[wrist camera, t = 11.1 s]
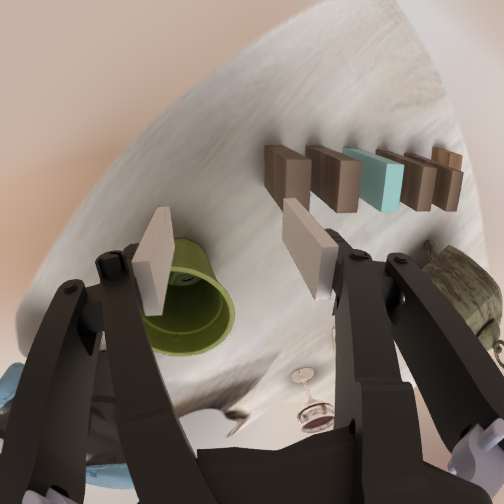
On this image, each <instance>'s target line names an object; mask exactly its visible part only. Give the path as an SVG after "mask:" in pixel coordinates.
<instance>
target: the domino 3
mask: <svg viewBox="0 0 504 504" xmlns="http://www.w3.org/2000/svg"><path fill="white" fill-rule="evenodd" d="M376 155H379V156H381V157H384V158H387V159H390V160H392V161H395V162H398V163H400V164H403V165H404V171H403V179H402V187H401V194H400V202H402V203H404V204H405V205H407V206H409V207H410V208H412V209H413V210H415V211H430V209H431V204H432V198H433V193H434V187H435V180H436V173H437V168H435V167H432V166H429V165H427V164H424V163H421V162H419V161H416V160H413V159H410V158H408V157H405V156H402V155H399V154H396V153H393V152H390V151H382V150H376Z"/></svg>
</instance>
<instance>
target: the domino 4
mask: <svg viewBox="0 0 504 504" xmlns="http://www.w3.org/2000/svg"><path fill="white" fill-rule="evenodd" d="M404 156H405V157H408V158H410V159H413V160H416V161H419V162H421V163H424V164H427V165H429V166H432V167H435V168H437V173H436V180H435V187H434V193H433V198H432V204H434V205H435V206H437V207H439V208H441V209H442V210H444V211H457V206H458V202H459V196H460V191H461V185H462V179H463V173H464V172H461V171H459V170H457V169H454V168H451V167H449V166H446V165H444V164H441V163H438V162H436V161H433V160H430V159H427V158H424V157H421V156H419V155H416V154H408V153H404Z"/></svg>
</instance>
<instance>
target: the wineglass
mask: <svg viewBox="0 0 504 504" xmlns="http://www.w3.org/2000/svg"><path fill="white" fill-rule="evenodd" d="M313 375H314V370H313V369H311V368H302V369H299V370H297V371H295V372H294V373H293V374H292V375H291V378H290V379H291V381H292V382H295V383H301V382H304V385H305V389H306V393H307V396H308V402H307V403H305V404H304V405H303V406H302V408H301V409H300V411H299V413H298V417H297V419H298V422H299V424H300V425H301V426H302V427H301V431H302V432H304V433H315V432H319V431H322V430H325V429H326V428H329V427H330V426H331V425H333V424H334V408H333V406H332V405H331V404H330V403H329V402H327V401H324V400H320V399H316V400H315V399H312V396H311V394H310V391H309V389H308V386H307V384H306V381H307V380H309V379H310V378H312V377H313Z"/></svg>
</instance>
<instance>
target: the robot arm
mask: <svg viewBox="0 0 504 504" xmlns="http://www.w3.org/2000/svg"><path fill="white" fill-rule="evenodd" d="M282 240H283V241H284V243H285V245H286V247H287V249H288V251H289V252H290V254H291V256H292V258H293V260H294V262H295V264H296V266H297V267H298V269H299V271H300V273H301V275H302V277H303V279H304V281H305V283H306V284H307V286H308V288H309V290H310V292H311V294H312V296H313V298H314V300H315V301H320V300H327V299H331V294H332V288H333V290H334V292H335V293H336V298H335V303H334V308H333V313H332V315H333V316H334V315H335V333H336V383H335V413H334V429H333V430H331V431H327V432H323V433H319V434H314V435H312V436H310V437H308V438H305V439H303V440H301V441H299V442H297V443H294V444H292V445H290V446H288V447H285V448H283V449H280V450H273V451H272V450H259V449H248V448H239V447H230V448H216V449H197V457H198V458H197V457H196V455H195V453H194V451H193V449H192V447H191V445H190V443H189V441H188V439H187V437H186V434H185V432H184V430H183V428H182V425H181V423H180V421H179V418H178V416H177V414H176V411H175V409H174V407H173V404H172V402H171V399H170V397H169V394H168V391H167V389H166V386H165V384H164V381H163V378H162V376H161V373H160V370H159V367H158V364H157V361H156V359H155V356H154V353H153V350H152V347H151V343H150V340H149V337H148V334H147V331H146V327H145V324H144V321H143V317H142V314H141V312H142V308H144V312H145V315H146V316H154V315H162V312H163V306H164V301H165V295H166V290H167V284H168V279H169V274H170V269H171V264H172V259H173V254H174V250H175V244H174V237H173V229H172V222H171V214H170V206H165V207H157V209H156V211H155V213H154V215H153V217H152V219H151V221H150V223H149V225H148V227H147V229H146V231H145V233H144V235H143V238H142V240H141V242H140V243H137V244H130V245H129V246H127V247H126V248H125V249H124V250H123V252H122V251H109V252H106V253H104V254H102V255H100V256H99V257H98V258H97V259H96V261H95V264H96V267H97V270H98V274H99V277H100V282H101V283H100V284H97V285H94V286H90V287H86V288H85V285H84V283H83V281H82V280H79V279H74V280H68V281H66V282H64V283H63V284H62V285H61V286H60V287H59V288H58V289H57V291H56V293H55V295H54V297H53V299H52V301H51V303H50V306H49V308H48V310H47V312H46V314H45V316H44V318H43V321H42V323H41V325H40V327H39V330H38V332H37V334H36V337H35V339H34V342H33V344H32V347H31V349H30V352H29V354H28V357H27V360H26V363H25V365H24V364H22V363H14V364H12V365H11V366H10V367H9V368H8V369H7V371H6V372H5V373H4V375H3V376H2V377H1V379H0V504H83V501H84V495H85V484H86V483H88V484H91V485H95V486H100V487H105V488H113V489H133V488H135V490H136V493H137V496H138V498H139V502H138V503H137V504H493V503H492V498H493V497H494V496H495V494H496V493H497V492H498V491H499V489H500V488H501V487H502V485H503V484H504V376H503V375H502V373H501V371H500V370H499V368H498V367H497V365H496V364H495V362H494V361H493V359H492V358H491V356H490V355H489V353H488V352H487V350H486V349H485V348H484V346H483V345H482V343H481V342H480V341H479V339H478V338H477V336H476V335H475V334H474V332H473V331H472V330H471V328H470V327H469V326H468V324H467V323H466V322H465V321H464V319H463V318H462V317H461V315H460V314H459V313H458V312H457V310H456V309H455V308H454V307H453V305H452V304H451V303H450V302H449V300H448V299H447V298H446V297H445V296H444V294H443V293H442V292H441V291H440V290H439V289H438V287H437V286H436V285H435V284H434V283H433V282H432V280H431V279H430V278H429V277H428V276H427V275H426V274H425V273H424V271H423V270H422V269H421V268H420V267H419V266H418V265H417V264H416V263H415V262H414V261H413V259H411V258H410V257H409V256H407V255H405V254H403V253H402V254H401V253H390V254H389V255H388V256H387V261H386V262H379V261H372V258H371V256H370V254H368V253H367V252H365V251H362V250H358V249H353V248H352V247H351V246H350V245H349V244H348V243H347V242H346V241H345V240H344V239H343V238H342V237H341V236H340V235H339V233H338V232H336V231H334V230H332V229H323V227H322V226H321V225H320V224H319V223H318V222H317V221H316V220H315V219H314V218H313V216H312V215H311V214H310V213H309V212H308V211H307V210H306V209H305V208H304V207H303V206H302V204H301V203H300V202H299V201H298V200H297V199H296V198H284V199H283V231H282ZM404 296H405V302H404V301H403V298H404ZM102 331H105V339H106V347H107V351H103V352H99V348H100V343H101V338H102ZM394 341H395V343H396V344H397V346H398V348H399V350H400V352H401V354H402V356H403V358H404V360H405V362H406V364H407V366H408V368H409V370H410V372H411V374H412V376H413V378H414V380H415V382H416V384H417V386H418V388H419V390H420V393H421V395H422V397H423V399H424V401H425V404H426V406H427V408H428V410H429V413H430V415H431V417H432V419H433V422H434V424H435V426H436V429H437V431H438V433H439V435H440V437H441V439H442V441H443V442H444V444H445V446H446V447H447V449H448V450H449V452H450V453H451V454H452V459H451V460H450V461H449V463H448V471H449V472H450V473H449V472H446V471H444V470H442V469H440V468H437V467H435V466H433V465H431V464H429V463H426V462H425V461H423V455H422V445H421V436H420V428H419V420H418V414H417V407H416V402H415V396H414V390H413V387H412V384H411V383H410V382H403V381H402V379H401V374H400V369H399V363H398V358H397V353H396V349H395V344H394ZM451 473H452V474H451ZM453 474H457V476H455V475H453Z"/></svg>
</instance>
